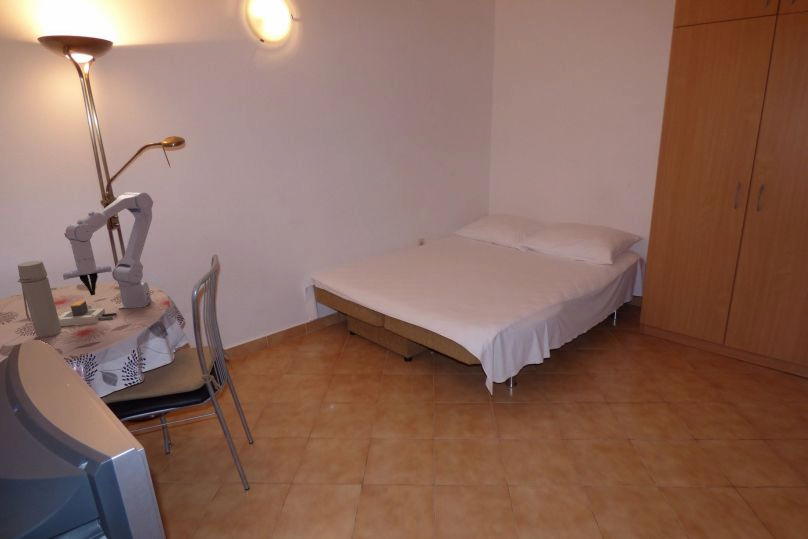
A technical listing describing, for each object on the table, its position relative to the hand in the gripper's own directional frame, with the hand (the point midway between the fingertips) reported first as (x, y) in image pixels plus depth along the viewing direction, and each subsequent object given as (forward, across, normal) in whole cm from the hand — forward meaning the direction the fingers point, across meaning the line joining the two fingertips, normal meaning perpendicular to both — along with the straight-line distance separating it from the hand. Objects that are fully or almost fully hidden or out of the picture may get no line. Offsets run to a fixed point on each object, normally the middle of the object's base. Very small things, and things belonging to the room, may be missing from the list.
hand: (92, 294), depth 174 cm
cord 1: (+9, -2, +3) cm, 10 cm away
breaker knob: (+7, +5, -2) cm, 9 cm away
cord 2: (+9, -3, 0) cm, 10 cm away
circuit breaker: (+9, +5, -2) cm, 11 cm away
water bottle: (+10, +16, +4) cm, 19 cm away
